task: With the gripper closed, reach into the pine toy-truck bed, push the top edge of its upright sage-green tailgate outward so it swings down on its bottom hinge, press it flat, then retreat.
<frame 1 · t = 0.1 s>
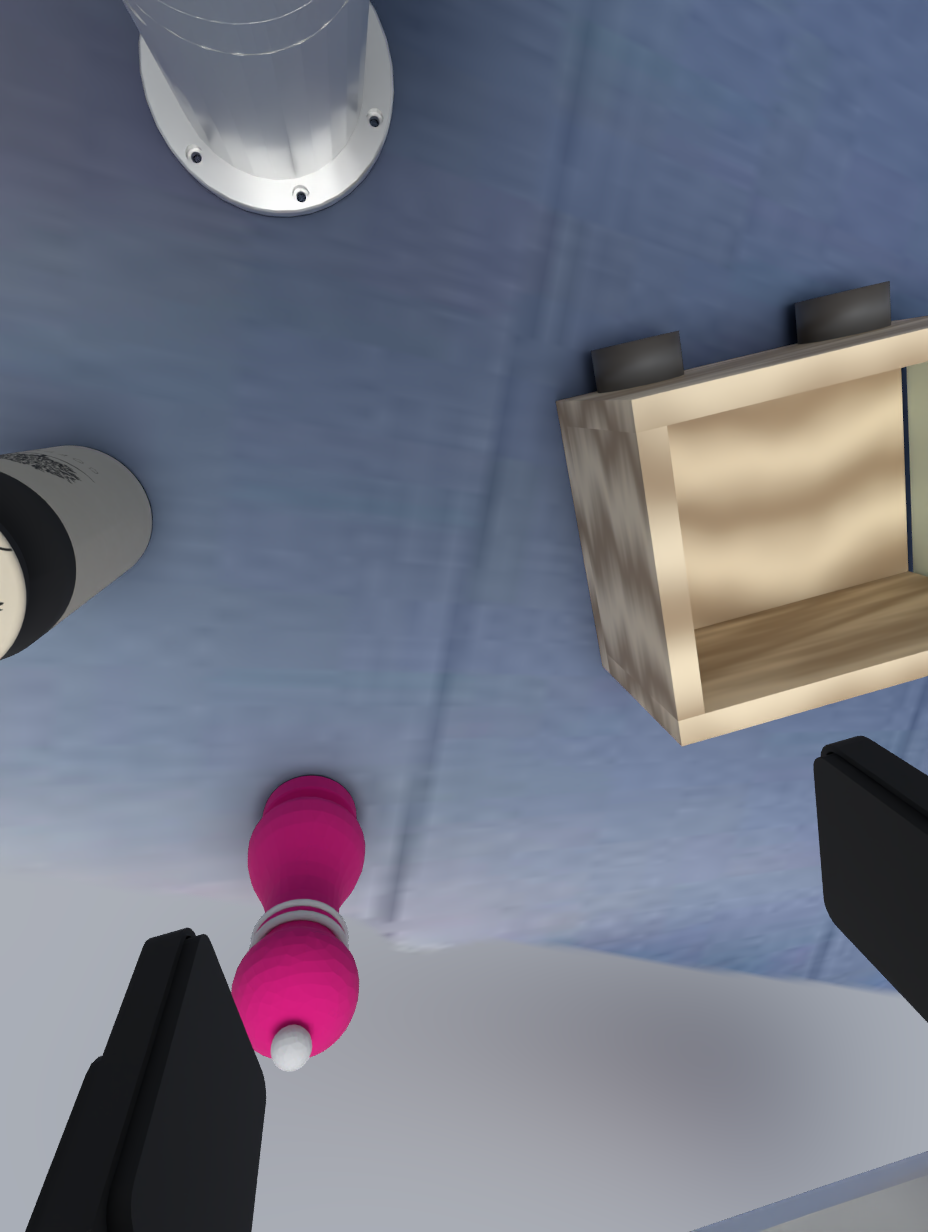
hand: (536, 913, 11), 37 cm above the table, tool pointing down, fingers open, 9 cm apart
pepper mill: (310, 813, 50), on the table
travel mug: (82, 514, 43), on the table
truck bed: (737, 500, 49), on the table
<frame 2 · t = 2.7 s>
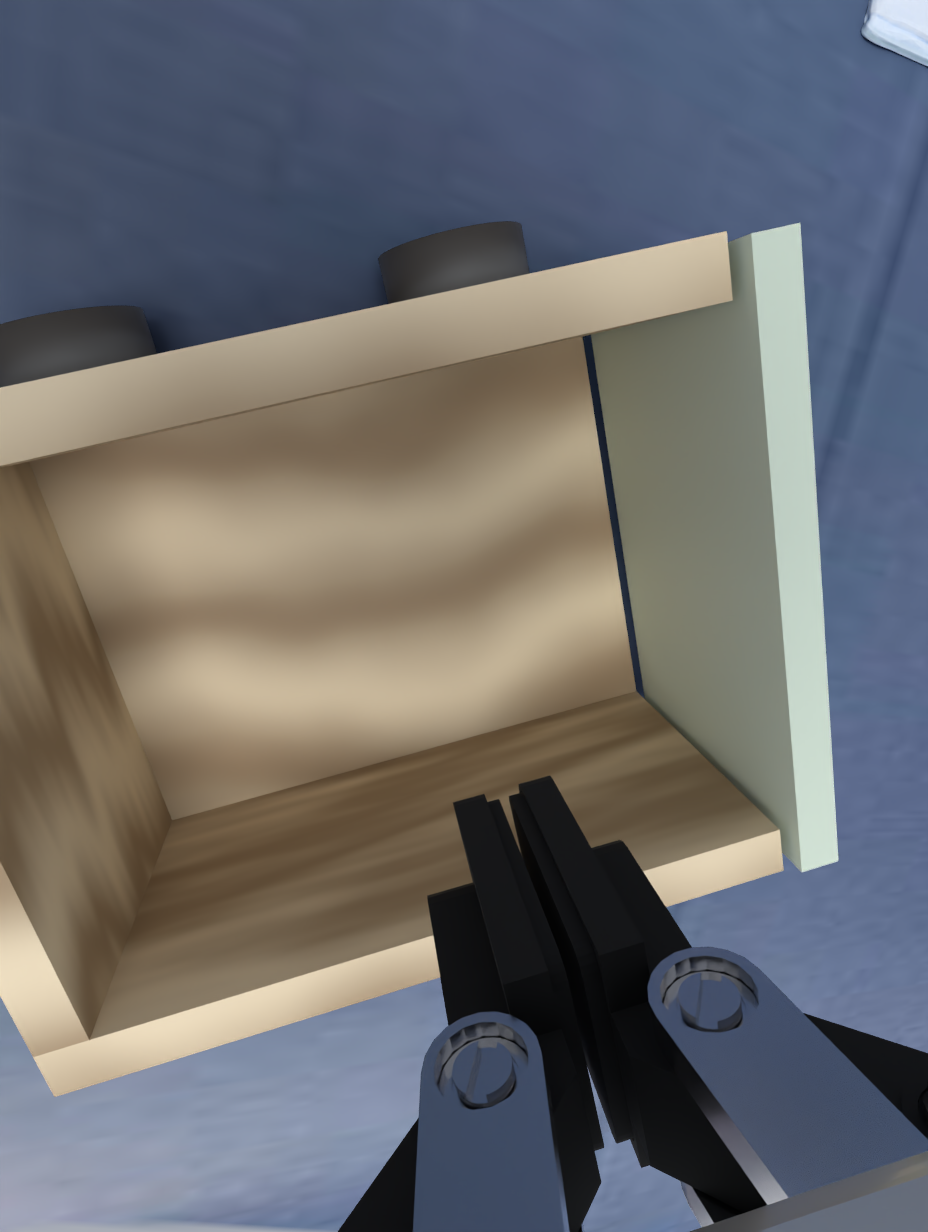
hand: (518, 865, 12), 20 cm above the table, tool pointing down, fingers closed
truck bed: (348, 585, 30), on the table
tailgate: (707, 548, 25), point 7 cm above the table, hinge at 0.0°
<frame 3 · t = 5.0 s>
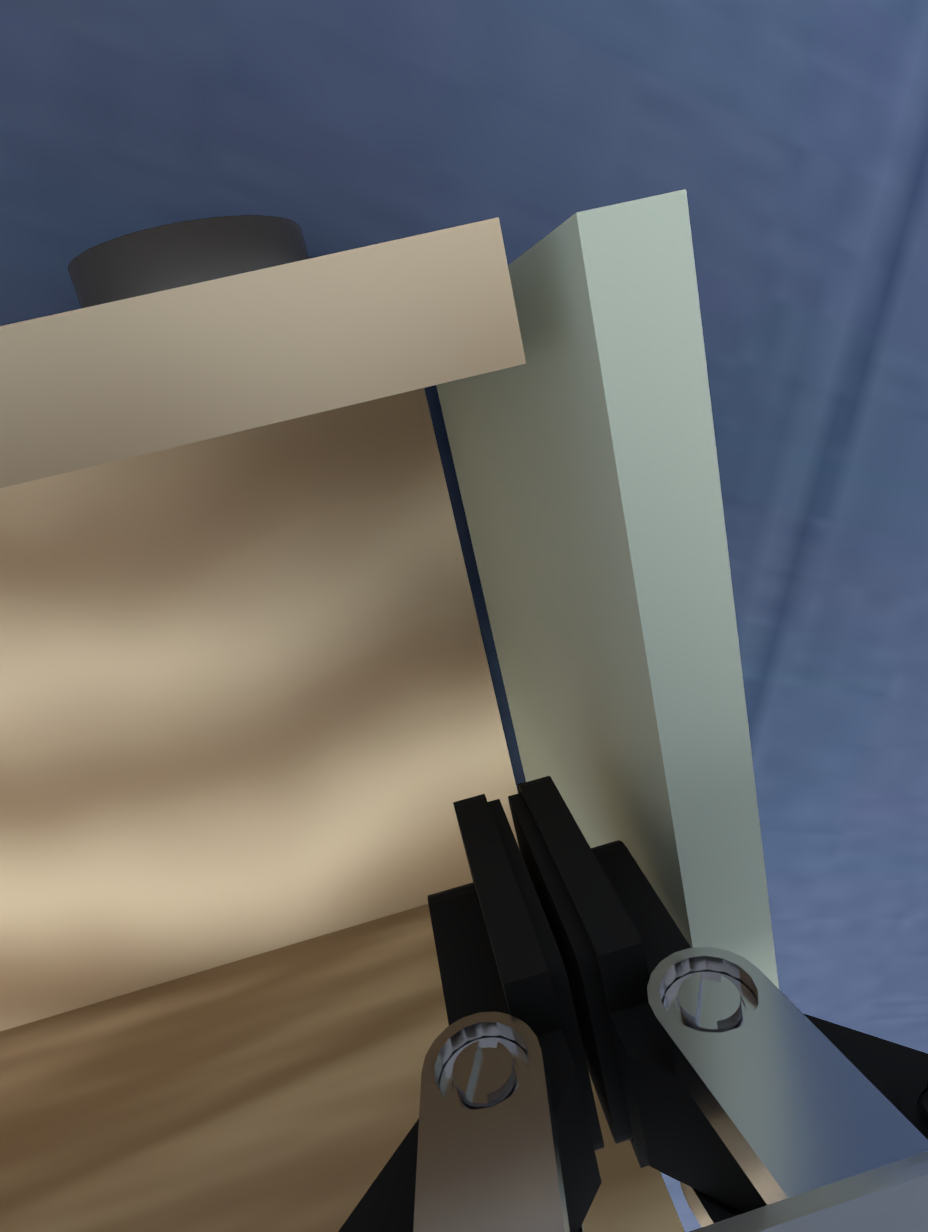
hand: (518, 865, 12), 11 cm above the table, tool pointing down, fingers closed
truck bed: (115, 736, 21), on the table
tailgate: (598, 727, 16), point 7 cm above the table, hinge at 1.9°, touching gripper
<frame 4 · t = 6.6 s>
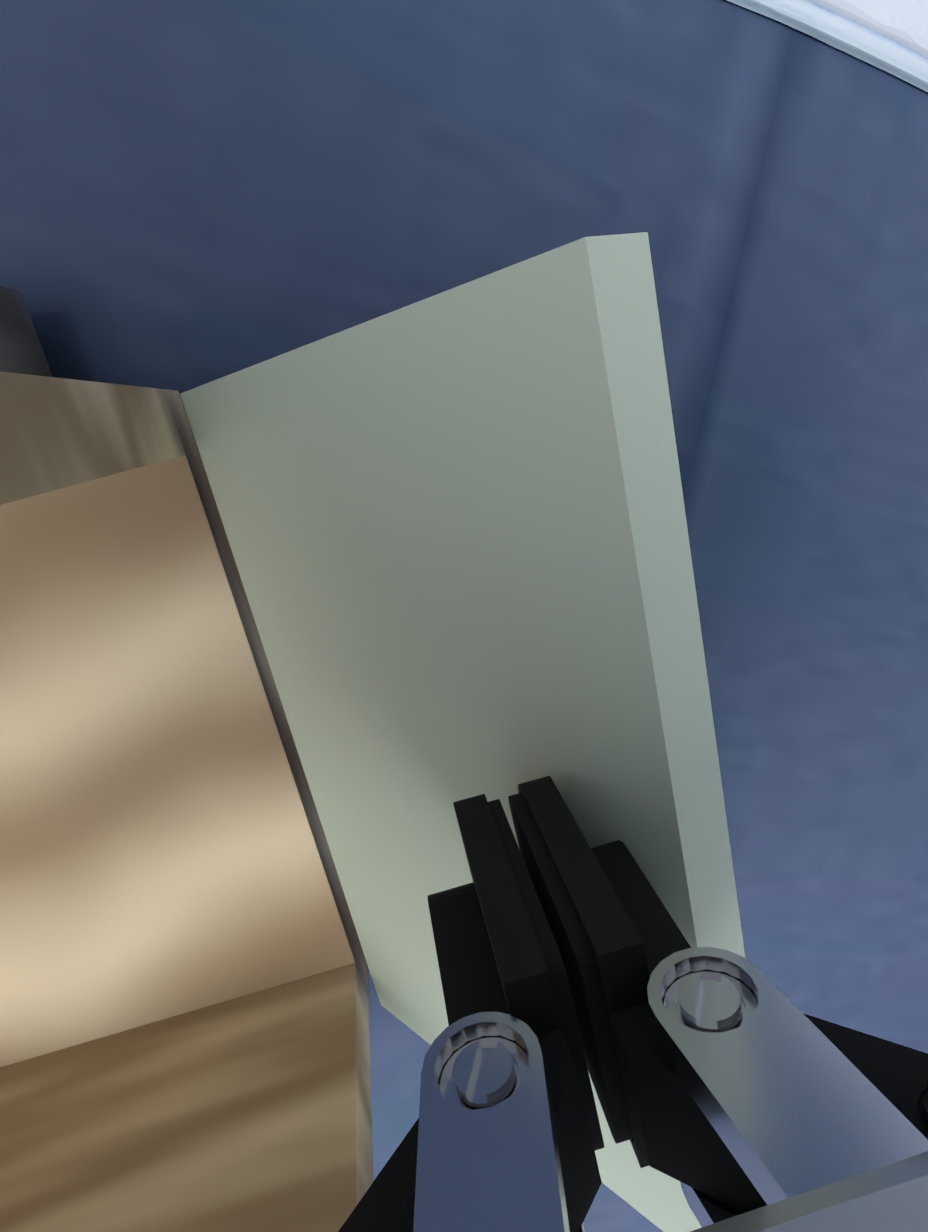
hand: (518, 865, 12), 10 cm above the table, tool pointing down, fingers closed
tailgate: (467, 776, 15), point 6 cm above the table, hinge at 34.8°, touching gripper
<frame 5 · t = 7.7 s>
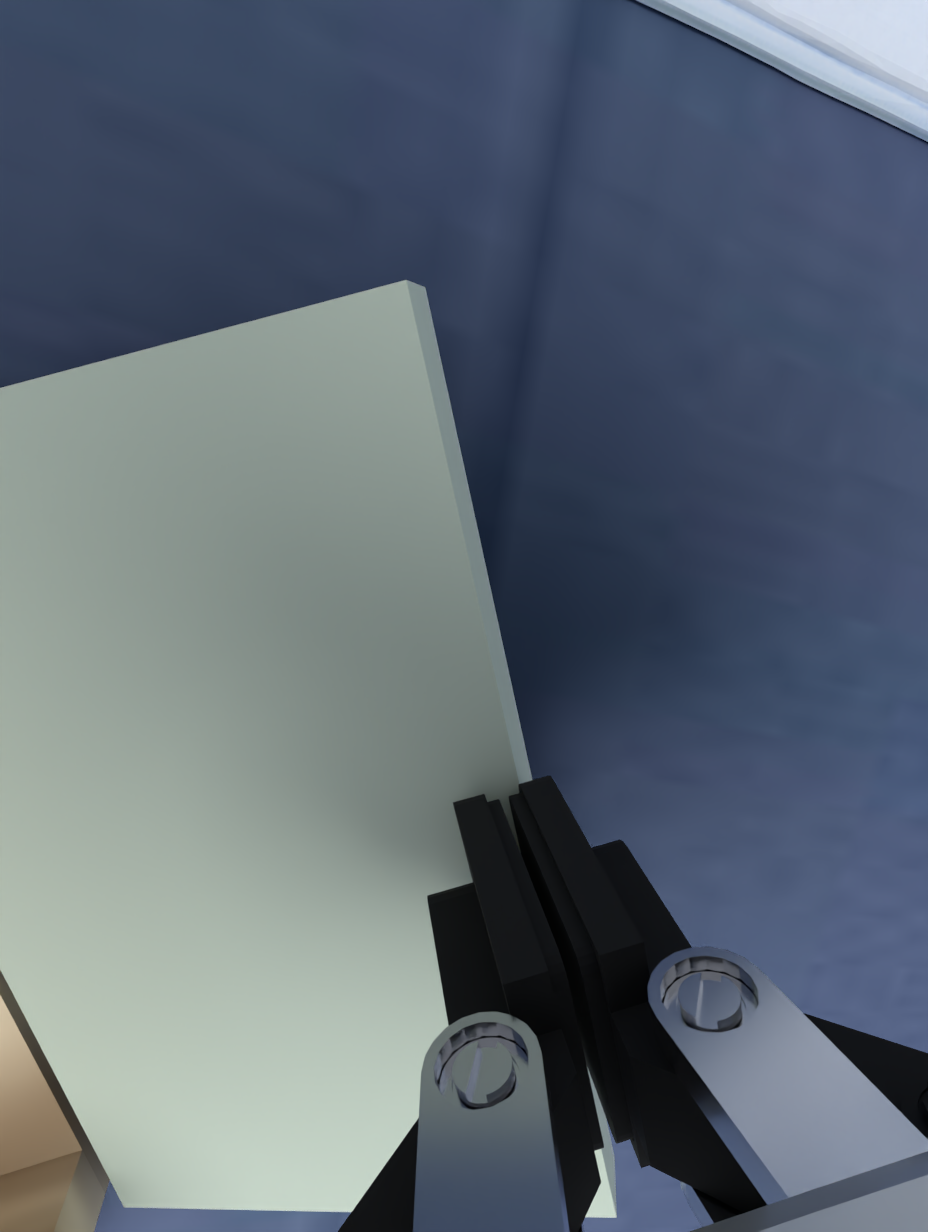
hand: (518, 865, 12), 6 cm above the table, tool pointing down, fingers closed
tailgate: (245, 848, 14), point 3 cm above the table, hinge at 71.8°
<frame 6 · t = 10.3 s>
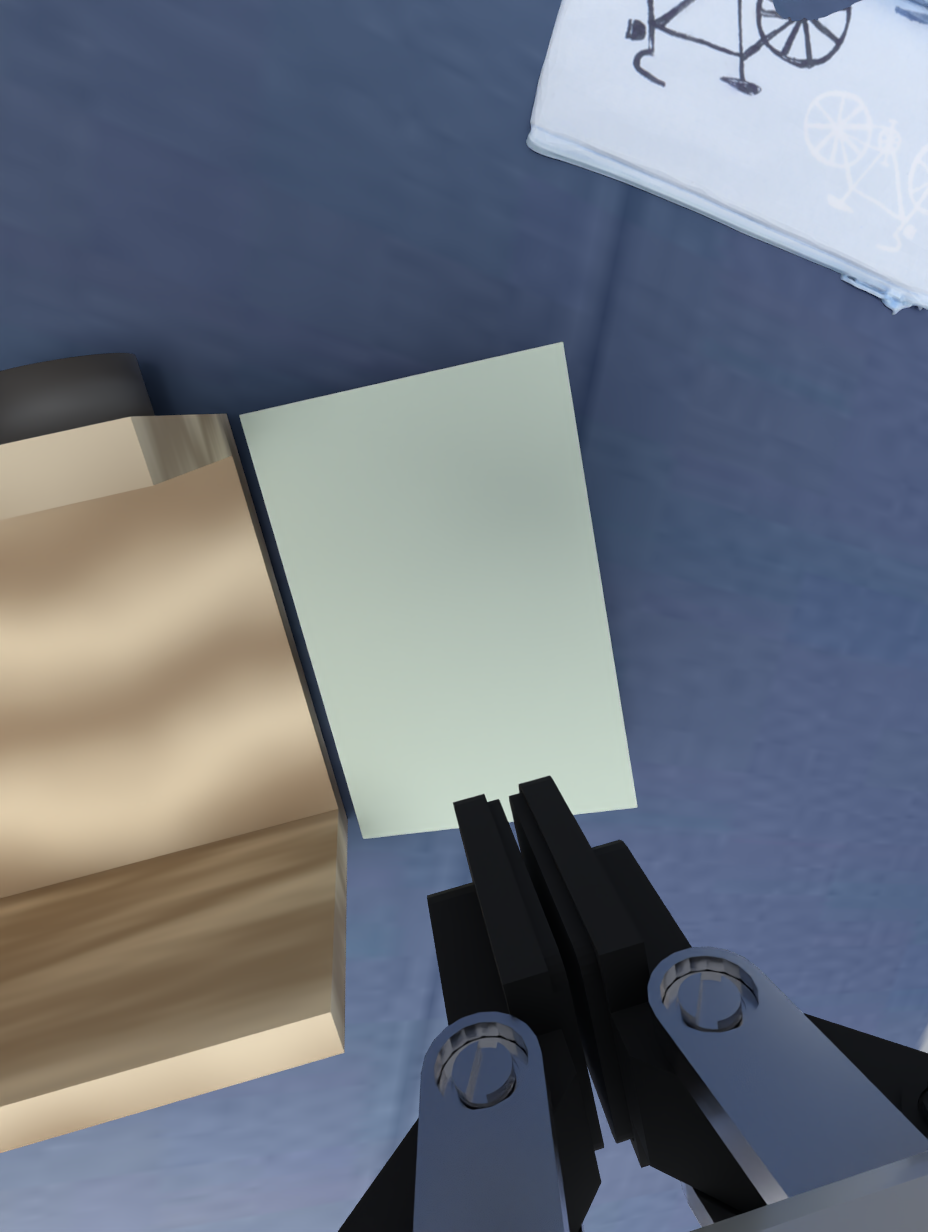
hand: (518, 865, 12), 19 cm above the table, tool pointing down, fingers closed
truck bed: (22, 700, 29), on the table
tailgate: (453, 615, 28), point 3 cm above the table, hinge at 75.0°
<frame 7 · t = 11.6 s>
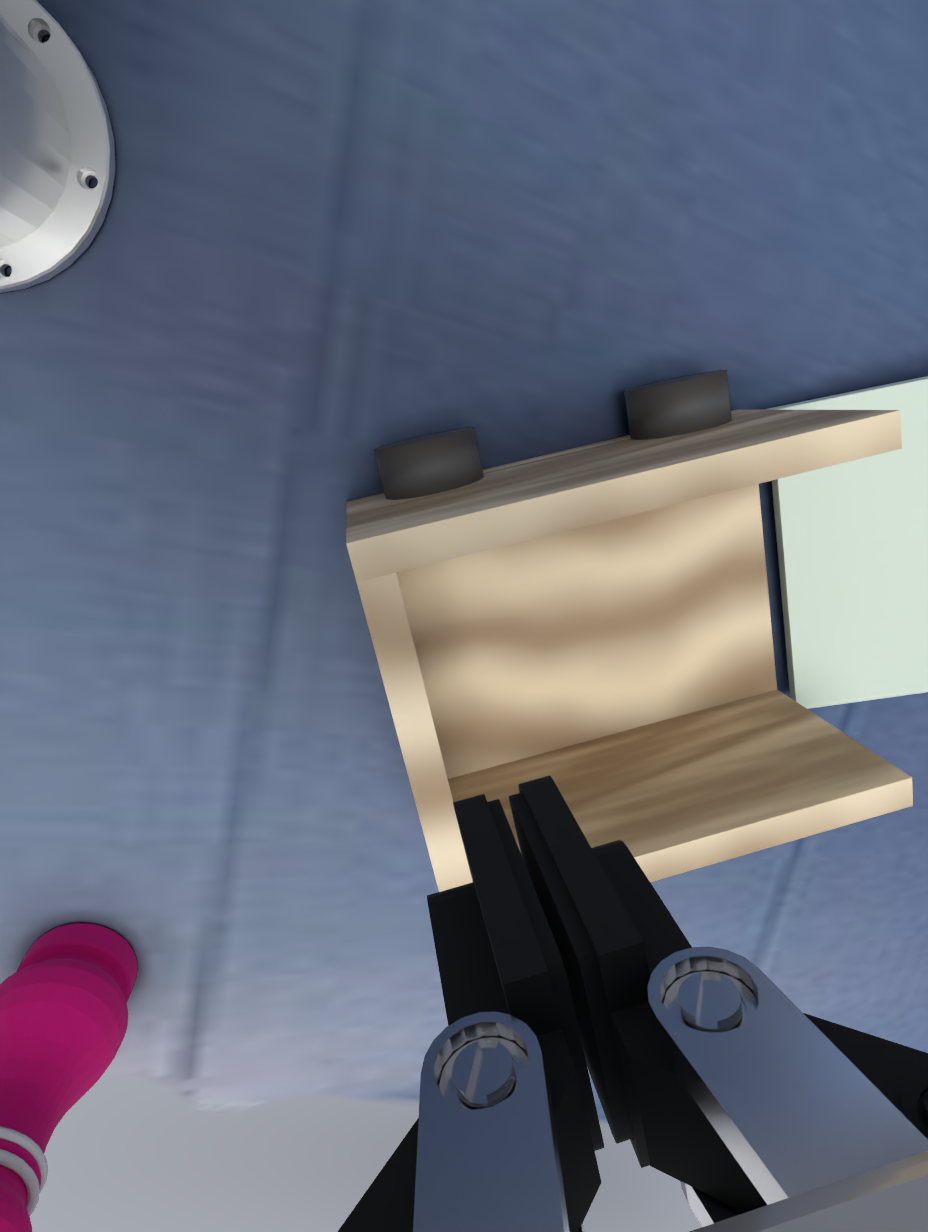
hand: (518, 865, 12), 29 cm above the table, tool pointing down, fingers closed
pepper mill: (83, 963, 44), on the table
truck bed: (574, 610, 42), on the table
tailgate: (886, 547, 41), point 3 cm above the table, hinge at 75.0°
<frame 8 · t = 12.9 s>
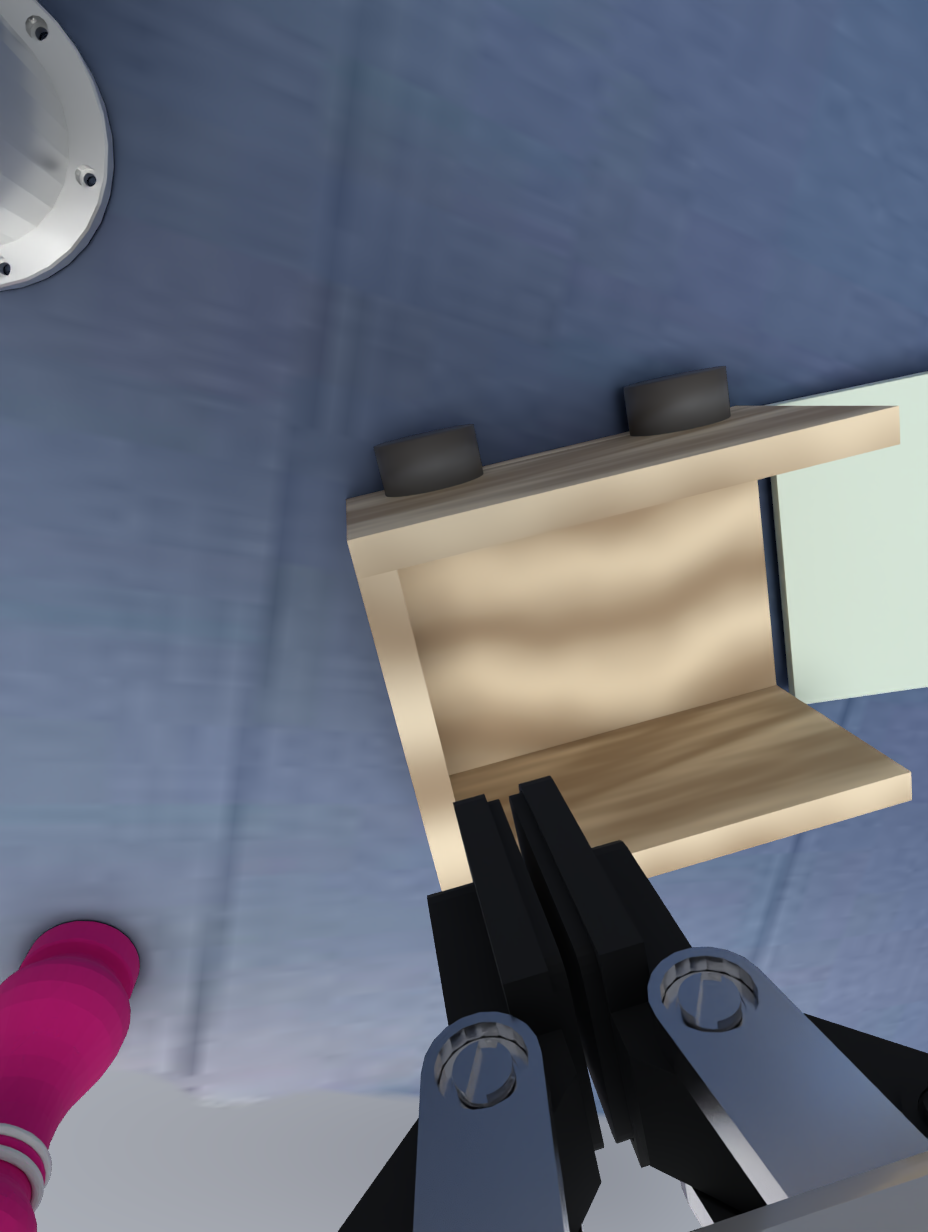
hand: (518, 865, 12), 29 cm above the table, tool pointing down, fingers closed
pepper mill: (85, 961, 44), on the table
truck bed: (573, 607, 42), on the table
tailgate: (885, 543, 41), point 3 cm above the table, hinge at 75.0°
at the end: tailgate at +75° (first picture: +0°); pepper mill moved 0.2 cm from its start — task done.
